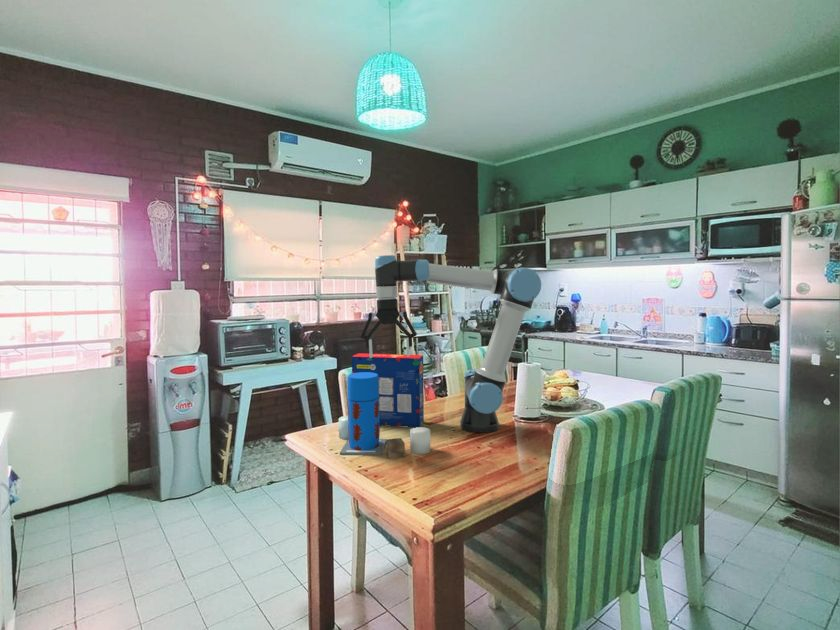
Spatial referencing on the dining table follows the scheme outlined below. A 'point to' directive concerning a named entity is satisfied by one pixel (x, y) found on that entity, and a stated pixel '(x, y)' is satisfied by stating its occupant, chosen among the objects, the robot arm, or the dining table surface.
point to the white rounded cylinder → (420, 440)
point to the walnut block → (395, 448)
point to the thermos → (363, 410)
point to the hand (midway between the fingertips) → (389, 356)
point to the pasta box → (396, 386)
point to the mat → (377, 451)
